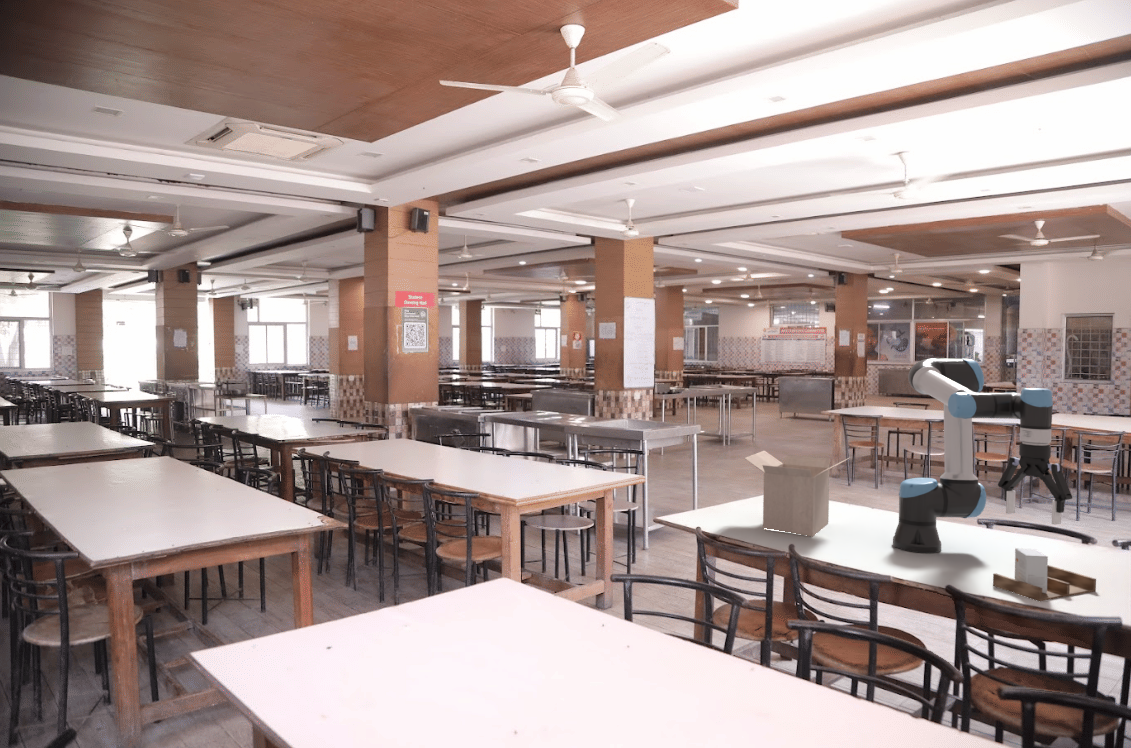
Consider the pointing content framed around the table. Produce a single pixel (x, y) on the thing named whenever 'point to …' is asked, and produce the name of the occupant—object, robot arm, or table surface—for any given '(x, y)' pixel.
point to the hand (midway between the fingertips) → (1032, 518)
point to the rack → (1049, 585)
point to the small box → (1031, 567)
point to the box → (794, 492)
